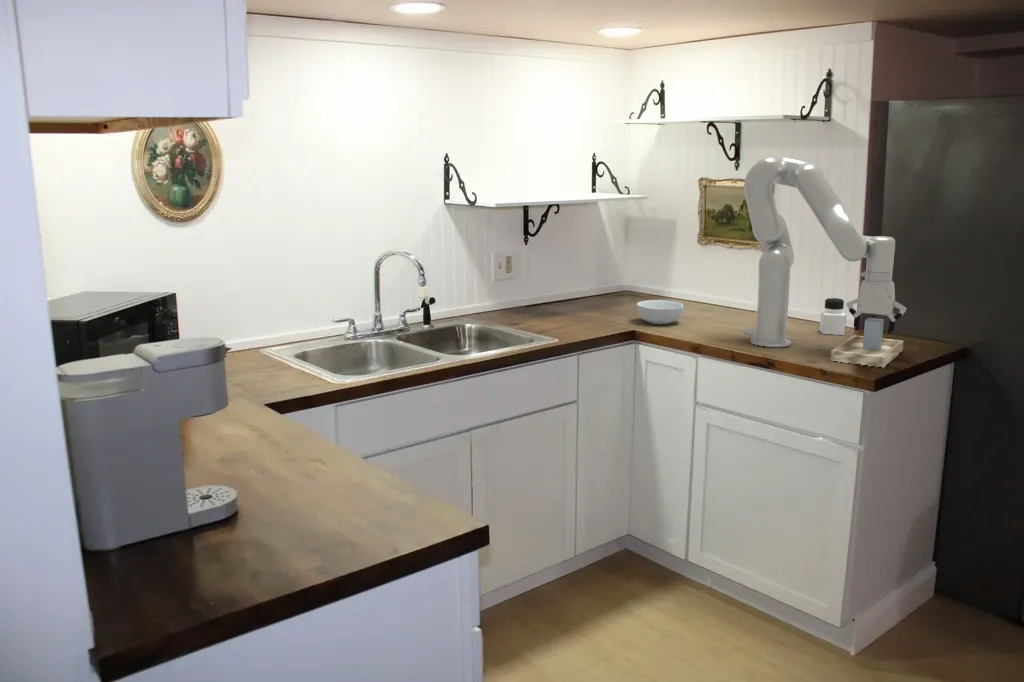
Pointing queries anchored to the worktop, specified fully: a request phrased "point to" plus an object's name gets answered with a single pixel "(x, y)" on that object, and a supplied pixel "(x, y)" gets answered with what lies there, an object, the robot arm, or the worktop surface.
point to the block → (873, 334)
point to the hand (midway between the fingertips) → (873, 331)
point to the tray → (866, 352)
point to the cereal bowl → (660, 311)
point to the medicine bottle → (833, 317)
